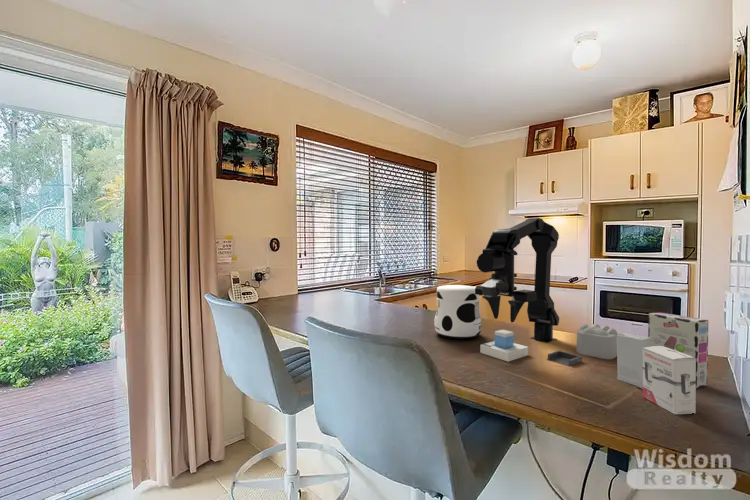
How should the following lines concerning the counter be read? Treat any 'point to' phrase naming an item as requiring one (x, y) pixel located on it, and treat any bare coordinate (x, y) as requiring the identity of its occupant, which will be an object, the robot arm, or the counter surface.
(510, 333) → the plug
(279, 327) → the counter surface
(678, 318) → the candy bar box
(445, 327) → the milk container
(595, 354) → the grey lumpy container
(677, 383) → the ink box
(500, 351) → the port
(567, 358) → the grey shallow square piece
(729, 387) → the counter surface
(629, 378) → the skincare box
